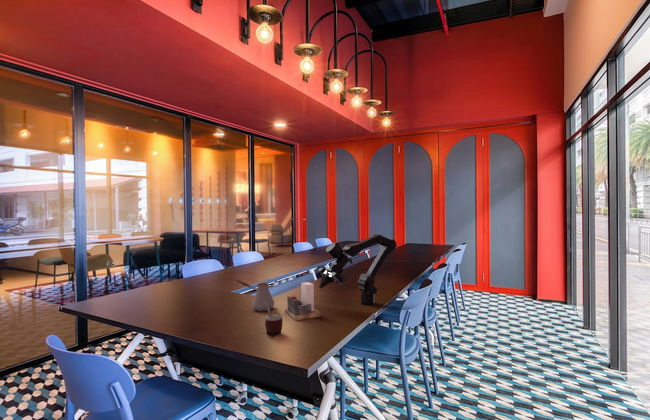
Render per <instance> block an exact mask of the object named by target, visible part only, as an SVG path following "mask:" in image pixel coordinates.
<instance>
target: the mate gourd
mask: <svg viewBox="0 0 650 420" xmlns="http://www.w3.org/2000/svg"><path fill="white" fill-rule="evenodd" d="M263 302H264V301H263ZM264 303H265V304H266V306H267V308H268V310H267V311H268V314H267V315H266V317H265V321H264V322H265V324H264V325H265V330H266V333H265V334H266V335H271V337H275V336H276V335H282V329H283V316H282V315H281V314H280V313H279V312H272V313H271V311H270V310H271V309H270V310H269V306H268V304H267V303H266V302H264Z"/></svg>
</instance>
